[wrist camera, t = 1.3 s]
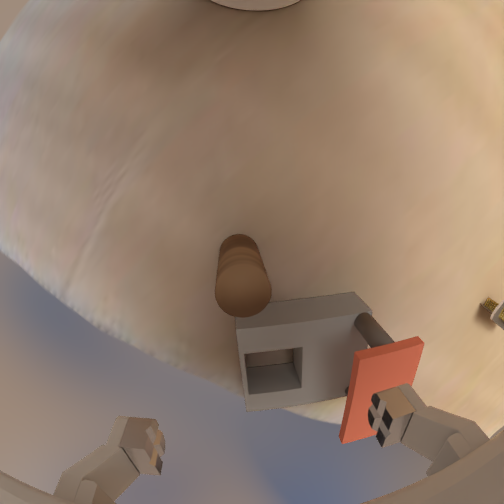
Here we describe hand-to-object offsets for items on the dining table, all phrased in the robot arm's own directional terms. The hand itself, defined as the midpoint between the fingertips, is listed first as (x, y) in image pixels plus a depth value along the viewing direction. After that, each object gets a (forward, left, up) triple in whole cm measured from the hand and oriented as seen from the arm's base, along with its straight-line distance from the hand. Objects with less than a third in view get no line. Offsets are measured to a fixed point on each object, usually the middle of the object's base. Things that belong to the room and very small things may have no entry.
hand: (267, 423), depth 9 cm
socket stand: (+12, +6, -22) cm, 25 cm away
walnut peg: (0, 0, -22) cm, 22 cm away
